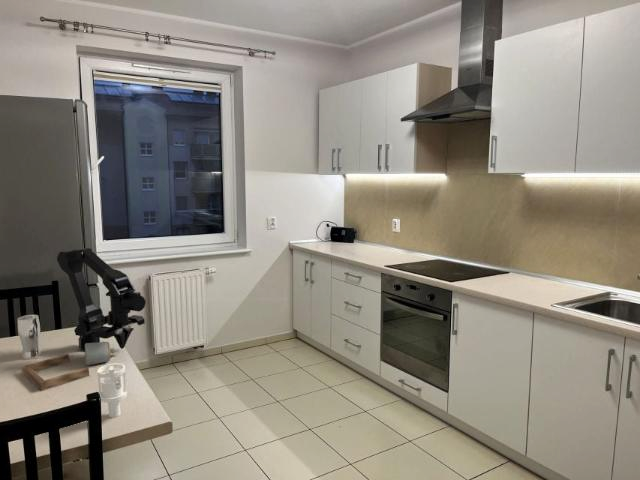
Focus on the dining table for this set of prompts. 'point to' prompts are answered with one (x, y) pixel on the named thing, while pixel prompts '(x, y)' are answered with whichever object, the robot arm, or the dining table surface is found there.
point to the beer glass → (29, 336)
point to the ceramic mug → (97, 352)
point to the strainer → (112, 387)
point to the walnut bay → (56, 381)
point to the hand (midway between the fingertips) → (122, 348)
